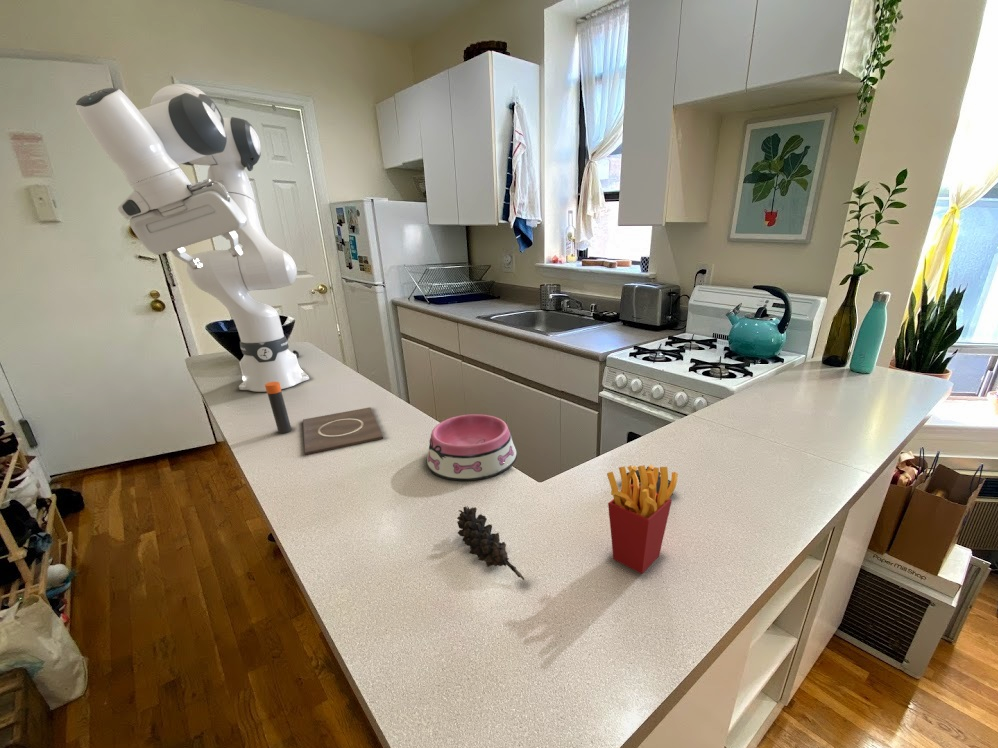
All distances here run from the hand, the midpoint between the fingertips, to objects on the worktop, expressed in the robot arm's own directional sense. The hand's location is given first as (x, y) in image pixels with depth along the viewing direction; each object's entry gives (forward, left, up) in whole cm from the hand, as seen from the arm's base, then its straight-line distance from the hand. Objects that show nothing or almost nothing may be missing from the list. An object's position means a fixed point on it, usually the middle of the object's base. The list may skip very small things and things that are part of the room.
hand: (218, 261), depth 96 cm
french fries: (+78, +51, -39) cm, 101 cm away
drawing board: (+9, +16, -38) cm, 43 cm away
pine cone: (+68, +32, -39) cm, 85 cm away
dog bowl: (+38, +39, -39) cm, 67 cm away
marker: (+3, +4, -38) cm, 39 cm away
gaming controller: (+66, +63, -39) cm, 99 cm away
